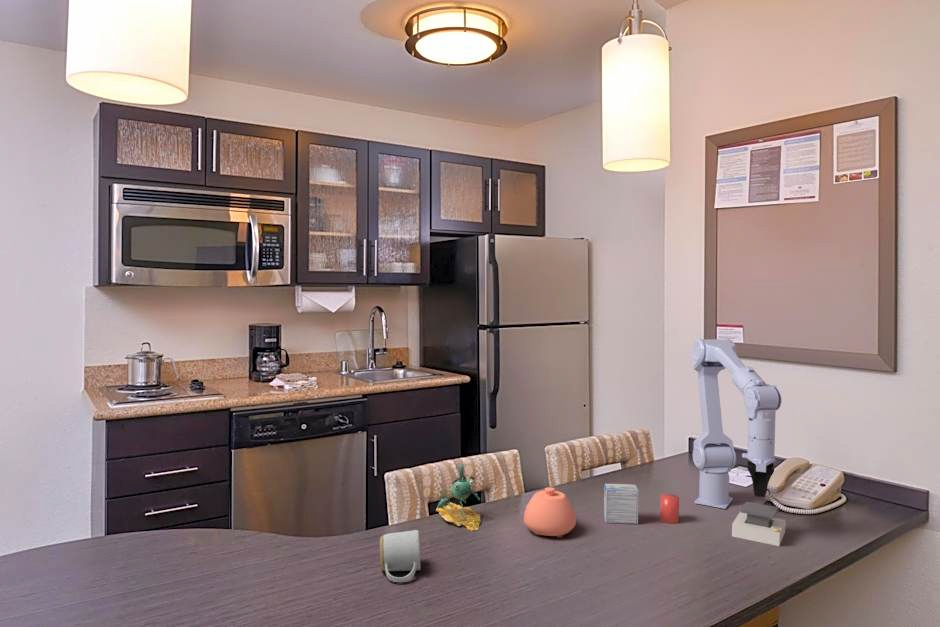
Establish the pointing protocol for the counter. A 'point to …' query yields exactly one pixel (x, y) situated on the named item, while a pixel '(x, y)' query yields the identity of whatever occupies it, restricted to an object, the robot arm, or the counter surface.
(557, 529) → the sugar bowl
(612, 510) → the medicine box
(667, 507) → the cap
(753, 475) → the robot arm
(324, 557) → the counter surface
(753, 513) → the switch
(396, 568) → the ceramic mug
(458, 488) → the frog figurine
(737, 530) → the box
